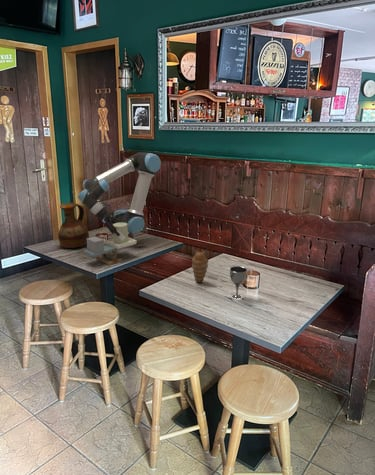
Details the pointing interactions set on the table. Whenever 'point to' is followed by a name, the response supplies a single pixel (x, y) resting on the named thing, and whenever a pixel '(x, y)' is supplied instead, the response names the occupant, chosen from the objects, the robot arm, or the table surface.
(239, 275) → the wine glass
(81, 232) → the ceramic pitcher
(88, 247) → the balance beam
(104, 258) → the pivot stand
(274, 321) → the table surface
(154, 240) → the table surface
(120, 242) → the can
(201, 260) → the brown tapered upright piece
